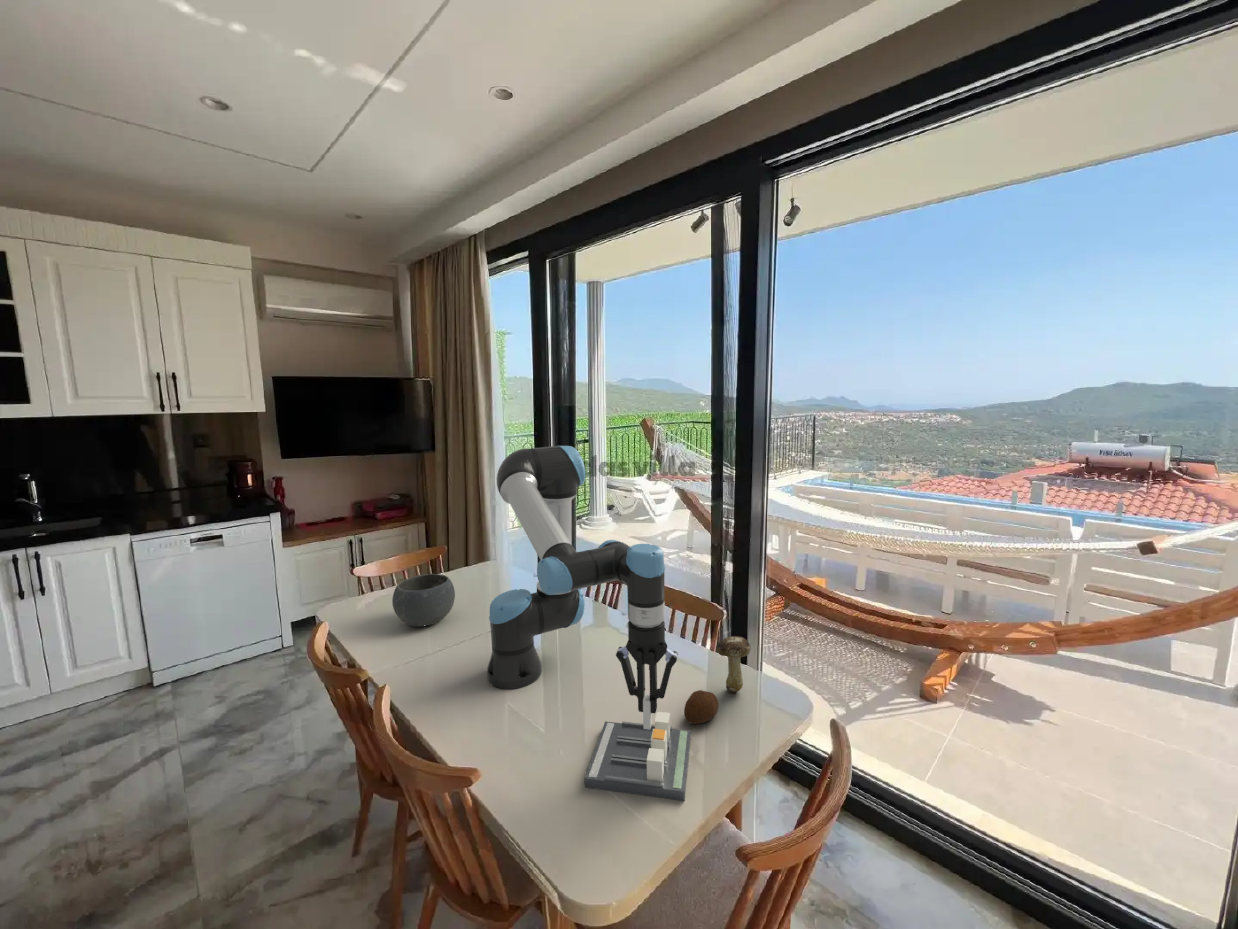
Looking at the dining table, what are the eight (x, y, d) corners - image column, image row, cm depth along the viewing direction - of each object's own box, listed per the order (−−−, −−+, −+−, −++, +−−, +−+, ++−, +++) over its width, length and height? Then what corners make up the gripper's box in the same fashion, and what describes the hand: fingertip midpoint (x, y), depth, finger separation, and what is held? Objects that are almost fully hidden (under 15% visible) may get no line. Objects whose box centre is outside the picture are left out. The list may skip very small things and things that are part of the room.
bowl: (469, 617, 182) (466, 577, 180) (419, 641, 165) (416, 597, 163) (432, 605, 193) (429, 568, 191) (383, 627, 176) (379, 586, 174)
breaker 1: (655, 740, 112) (654, 721, 111) (657, 729, 115) (656, 711, 114) (668, 741, 111) (668, 723, 110) (670, 731, 114) (670, 713, 114)
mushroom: (730, 706, 126) (730, 650, 124) (709, 689, 134) (709, 635, 132) (759, 695, 131) (760, 640, 129) (737, 679, 138) (737, 627, 136)
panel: (584, 787, 102) (584, 775, 101) (605, 729, 119) (605, 719, 119) (684, 801, 98) (684, 788, 97) (690, 738, 115) (690, 728, 115)
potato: (727, 715, 123) (727, 688, 122) (701, 736, 116) (701, 707, 115) (703, 703, 128) (703, 677, 127) (677, 722, 121) (677, 695, 120)
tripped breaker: (651, 759, 106) (650, 738, 105) (653, 748, 109) (653, 727, 109) (665, 761, 105) (665, 740, 105) (667, 749, 109) (666, 729, 108)
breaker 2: (647, 780, 100) (646, 760, 99) (649, 768, 103) (649, 748, 103) (662, 782, 99) (661, 762, 99) (664, 769, 103) (663, 749, 102)
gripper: (611, 626, 101) (614, 733, 105) (676, 631, 99) (677, 740, 102) (618, 610, 109) (621, 710, 112) (679, 614, 106) (680, 717, 109)
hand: (647, 725), depth 107 cm, fingers closed
